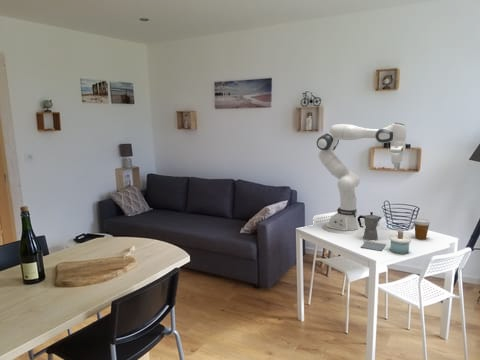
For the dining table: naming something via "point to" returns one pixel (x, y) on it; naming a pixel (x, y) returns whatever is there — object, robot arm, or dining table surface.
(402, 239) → the lid
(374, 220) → the coffeepot
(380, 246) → the mat
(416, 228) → the disposable coffee cup
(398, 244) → the crock
